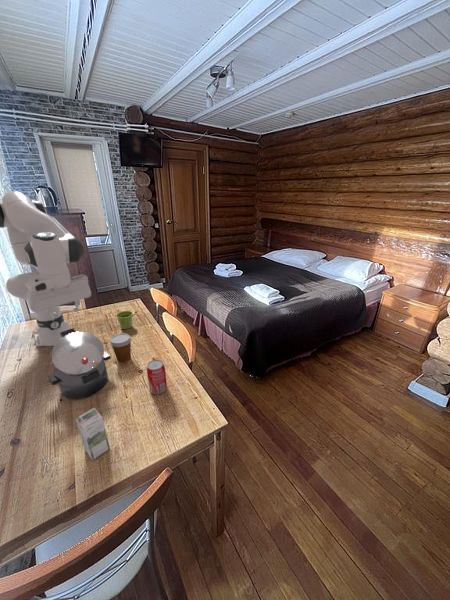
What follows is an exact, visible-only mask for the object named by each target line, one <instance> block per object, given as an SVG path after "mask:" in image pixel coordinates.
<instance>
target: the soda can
mask: <svg viewBox="0 0 450 600" xmlns="http://www.w3.org/2000/svg"><path fill="white" fill-rule="evenodd" d="M166 374H167V373H166V366H165V364H164V362H163V361H162V360H161V359H152V360H151V361H149V362H148V363H147V365H146V375H147V376H146V377H147V381H148V387H149V388H148V389H149V392H151V393H152V394H153V395H161V394H163V393H165V391H166V390H167V388H168V385H167V384H168V383H167V376H166Z"/></svg>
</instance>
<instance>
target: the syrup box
mask: <svg viewBox="0 0 450 600" xmlns="http://www.w3.org/2000/svg"><path fill="white" fill-rule="evenodd" d="M75 421H76V425H77V428H78V431H79V435H80V438H81V442H82V444H83V447H84V451H85V452H86V454H88V456H89V457H90V459H91V461H95V460H96V459H97V458H99V457H100V456H101V455H103V454H105V452H107V451H109V450H110V449H111V448H110V443H109V438H108V434H107V430H106V426H105V422H104V418H103V416H102V415H101V413H99V412H98V410H97V409H96V408H95V407H93V408H91V409H89V410H88V411H86V412H84V413H83V414H81V415H79V416H77V417H75Z"/></svg>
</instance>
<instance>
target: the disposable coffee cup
mask: <svg viewBox="0 0 450 600" xmlns="http://www.w3.org/2000/svg"><path fill="white" fill-rule="evenodd" d="M131 341H132V336H130V334H128V333H118V334H114V335H113V336H111V338H110V341H109V344H110V345H111V347H112V349H113V350H112V351H113V353H114V354H115V355H114V356H115V357H116V360H117V362H118V363H119V364H123V363H127V362H129V361H130V360H131V358H132V354H131V350H132V349H131V348H132V347H131V346H132V345H131Z"/></svg>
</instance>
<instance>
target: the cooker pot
mask: <svg viewBox="0 0 450 600" xmlns="http://www.w3.org/2000/svg"><path fill="white" fill-rule="evenodd" d="M110 359H111V355H110V354H109V353H108V352H107V351H105V350H104V355H103V359H102V361H101V363H100V364H99V366H98V367H97V368H96V369H94V370H93V371H91V372H89V373H87V374H84V375H79V376H72V375H67V374H64V373H62V372H60V371H59V370H57V369H56V367H55V366H54V369H53V371H54V373H52V374H49V375H47V376H46V377H47V380H48V381H49V383H50V384H51V385H52V386H55V385H58V386H59V390H60V392H61V396H63V398H65V399H67V400H72V401H75V400H76V401H77V400H83V399H84V400H85V399H87V398H89V397H92V396H94V395H96V394H98V393H99V392H101V391H102V390H103V389H104V388H105V387H106V385H107V384H108V381H109V376H108V371H107V367H106V362H107V361H109V360H110Z"/></svg>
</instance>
